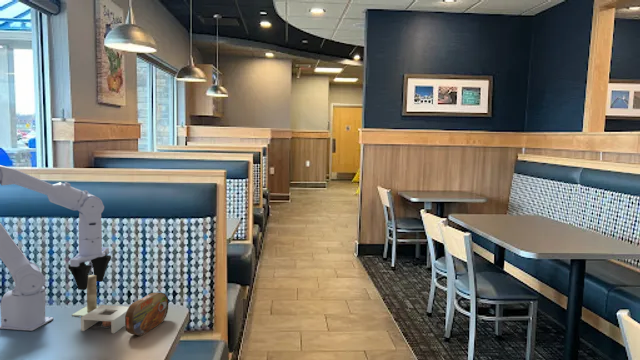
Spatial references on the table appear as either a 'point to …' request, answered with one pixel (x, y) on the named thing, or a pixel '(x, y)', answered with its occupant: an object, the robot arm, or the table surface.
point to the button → (106, 323)
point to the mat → (81, 312)
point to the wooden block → (91, 293)
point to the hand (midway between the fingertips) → (90, 285)
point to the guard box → (105, 317)
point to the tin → (146, 313)
